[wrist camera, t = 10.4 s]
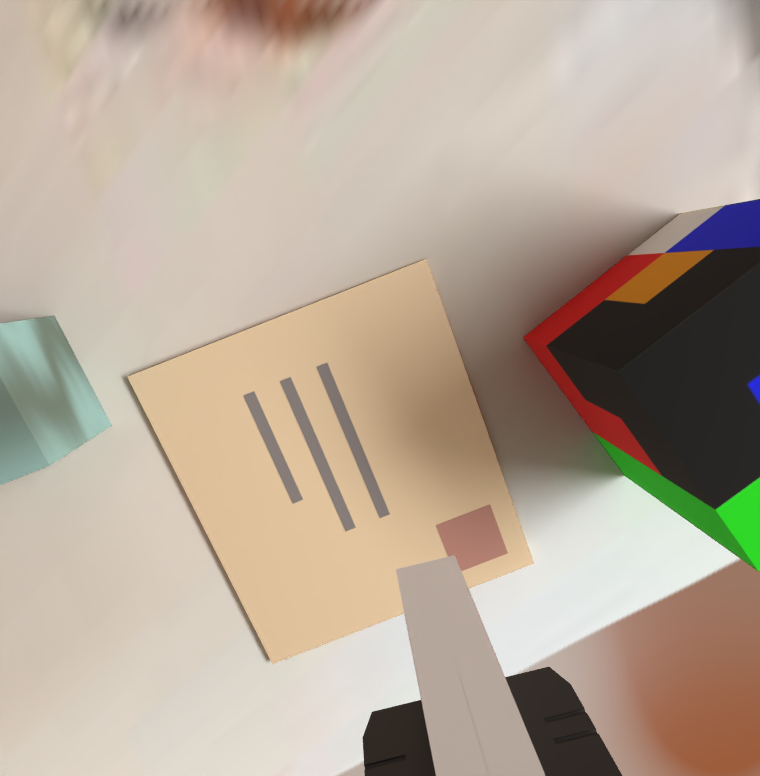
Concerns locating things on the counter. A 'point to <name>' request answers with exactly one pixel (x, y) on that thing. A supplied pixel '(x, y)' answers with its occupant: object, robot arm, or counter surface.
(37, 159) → the counter surface
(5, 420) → the teal block
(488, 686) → the robot arm
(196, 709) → the counter surface
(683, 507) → the puzzle toy
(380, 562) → the letter card
